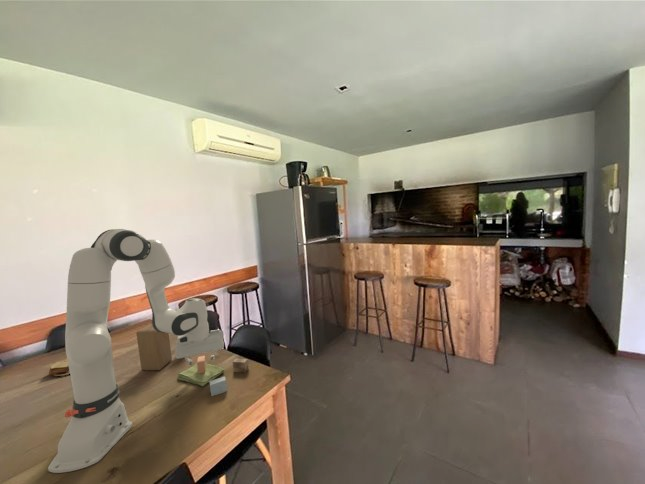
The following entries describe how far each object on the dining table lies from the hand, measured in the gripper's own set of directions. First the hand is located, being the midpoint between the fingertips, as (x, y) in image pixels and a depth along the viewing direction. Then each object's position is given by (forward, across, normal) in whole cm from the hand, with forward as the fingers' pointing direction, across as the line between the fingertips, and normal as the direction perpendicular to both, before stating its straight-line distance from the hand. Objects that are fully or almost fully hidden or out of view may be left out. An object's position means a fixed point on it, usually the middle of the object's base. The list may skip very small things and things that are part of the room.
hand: (201, 362), depth 126 cm
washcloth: (+7, +1, 0) cm, 7 cm away
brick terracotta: (+4, 0, 0) cm, 4 cm away
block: (+6, +22, -20) cm, 31 cm away
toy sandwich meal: (+7, +64, -36) cm, 74 cm away
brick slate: (+6, -7, +17) cm, 19 cm away
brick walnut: (+6, -16, +4) cm, 18 cm away
